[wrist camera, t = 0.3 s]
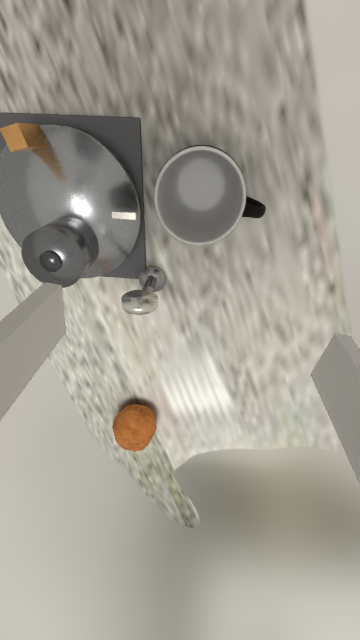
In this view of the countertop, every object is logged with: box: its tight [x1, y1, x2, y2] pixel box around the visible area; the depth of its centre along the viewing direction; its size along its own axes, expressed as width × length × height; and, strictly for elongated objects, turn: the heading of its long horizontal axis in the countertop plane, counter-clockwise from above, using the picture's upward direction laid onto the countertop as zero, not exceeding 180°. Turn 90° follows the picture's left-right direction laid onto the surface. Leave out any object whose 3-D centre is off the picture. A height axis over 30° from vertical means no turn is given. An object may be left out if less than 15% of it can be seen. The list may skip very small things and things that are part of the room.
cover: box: [22, 217, 99, 288], centre depth 34 cm, size 7×7×7 cm
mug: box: [154, 145, 266, 245], centre depth 31 cm, size 12×9×10 cm
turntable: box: [0, 123, 140, 278], centre depth 33 cm, size 18×18×6 cm
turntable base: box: [0, 113, 146, 279], centre depth 36 cm, size 20×18×2 cm
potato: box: [112, 404, 156, 451], centre depth 58 cm, size 9×11×8 cm
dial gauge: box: [122, 266, 165, 315], centre depth 37 cm, size 4×4×12 cm
